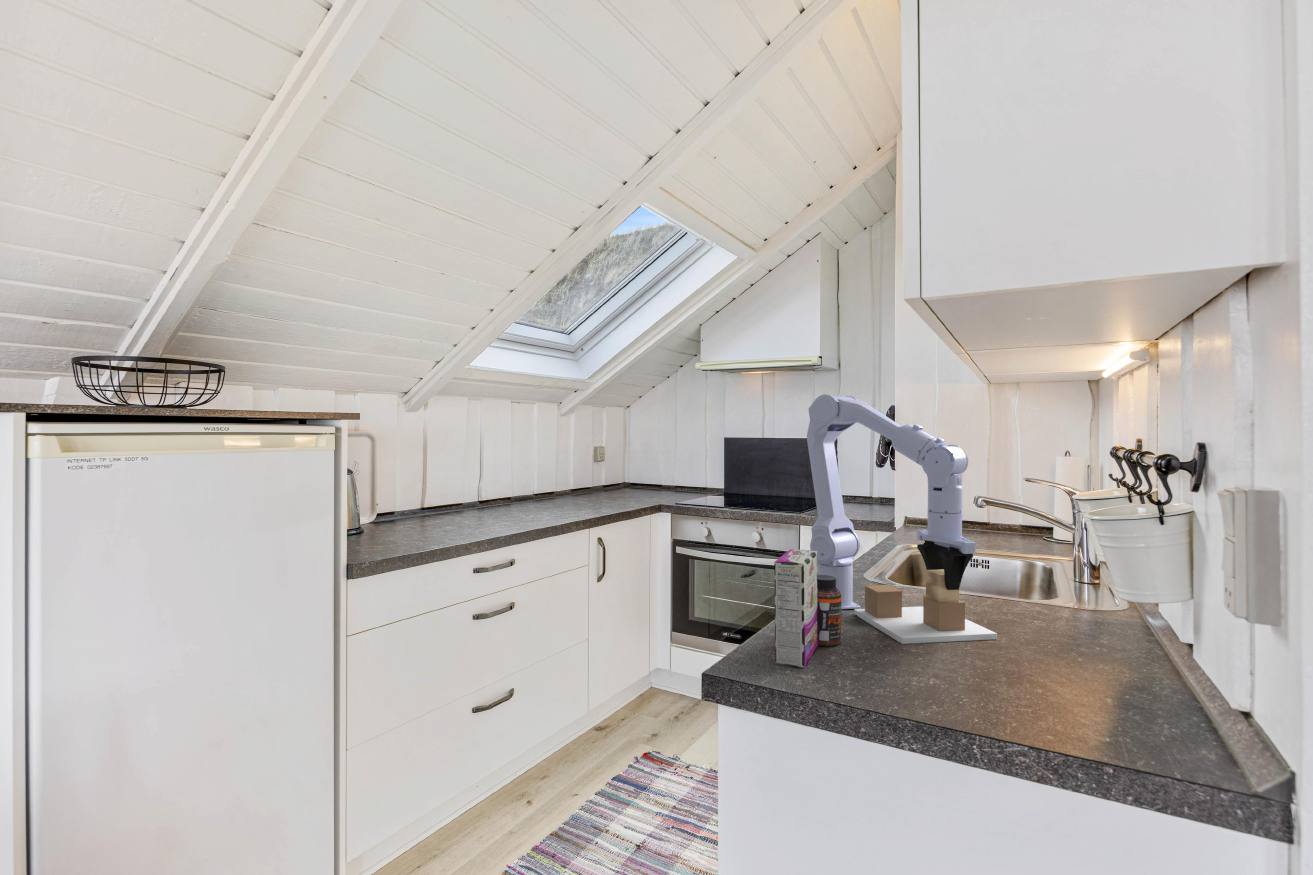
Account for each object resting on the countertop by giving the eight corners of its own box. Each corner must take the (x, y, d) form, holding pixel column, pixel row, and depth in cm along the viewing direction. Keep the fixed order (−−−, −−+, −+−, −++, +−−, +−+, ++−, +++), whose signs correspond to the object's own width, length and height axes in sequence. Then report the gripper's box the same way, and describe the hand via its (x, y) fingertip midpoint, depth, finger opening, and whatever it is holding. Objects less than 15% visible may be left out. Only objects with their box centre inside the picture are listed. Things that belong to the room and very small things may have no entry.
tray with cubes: (854, 614, 127) (854, 584, 127) (937, 610, 130) (937, 581, 130) (902, 643, 110) (902, 608, 109) (997, 639, 112) (997, 605, 112)
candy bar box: (789, 642, 110) (789, 548, 110) (818, 647, 108) (819, 550, 108) (772, 664, 100) (773, 559, 100) (804, 669, 98) (805, 562, 97)
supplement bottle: (833, 649, 106) (833, 582, 106) (799, 642, 110) (800, 577, 110) (846, 640, 111) (846, 576, 111) (814, 634, 115) (814, 571, 115)
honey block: (925, 596, 118) (925, 569, 118) (945, 595, 118) (945, 569, 118) (938, 602, 114) (939, 574, 114) (959, 601, 114) (959, 573, 114)
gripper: (902, 507, 122) (902, 577, 123) (949, 517, 108) (948, 597, 108) (936, 506, 124) (935, 576, 124) (986, 516, 109) (986, 595, 109)
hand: (944, 586), depth 116 cm, fingers open, 4 cm apart
